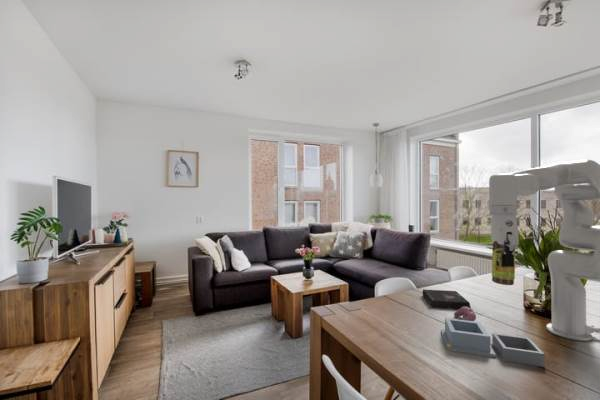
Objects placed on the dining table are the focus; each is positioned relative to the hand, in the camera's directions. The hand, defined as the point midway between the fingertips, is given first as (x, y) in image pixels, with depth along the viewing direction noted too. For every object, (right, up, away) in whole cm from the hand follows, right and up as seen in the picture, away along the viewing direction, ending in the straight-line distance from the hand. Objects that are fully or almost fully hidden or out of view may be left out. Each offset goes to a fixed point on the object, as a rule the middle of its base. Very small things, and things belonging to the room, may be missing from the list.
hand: (503, 263), depth 92 cm
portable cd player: (+4, -31, +45) cm, 55 cm away
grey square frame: (+3, -30, -2) cm, 30 cm away
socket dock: (-9, -30, +6) cm, 32 cm away
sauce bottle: (0, -7, 0) cm, 7 cm away
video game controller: (+1, -30, +24) cm, 38 cm away
